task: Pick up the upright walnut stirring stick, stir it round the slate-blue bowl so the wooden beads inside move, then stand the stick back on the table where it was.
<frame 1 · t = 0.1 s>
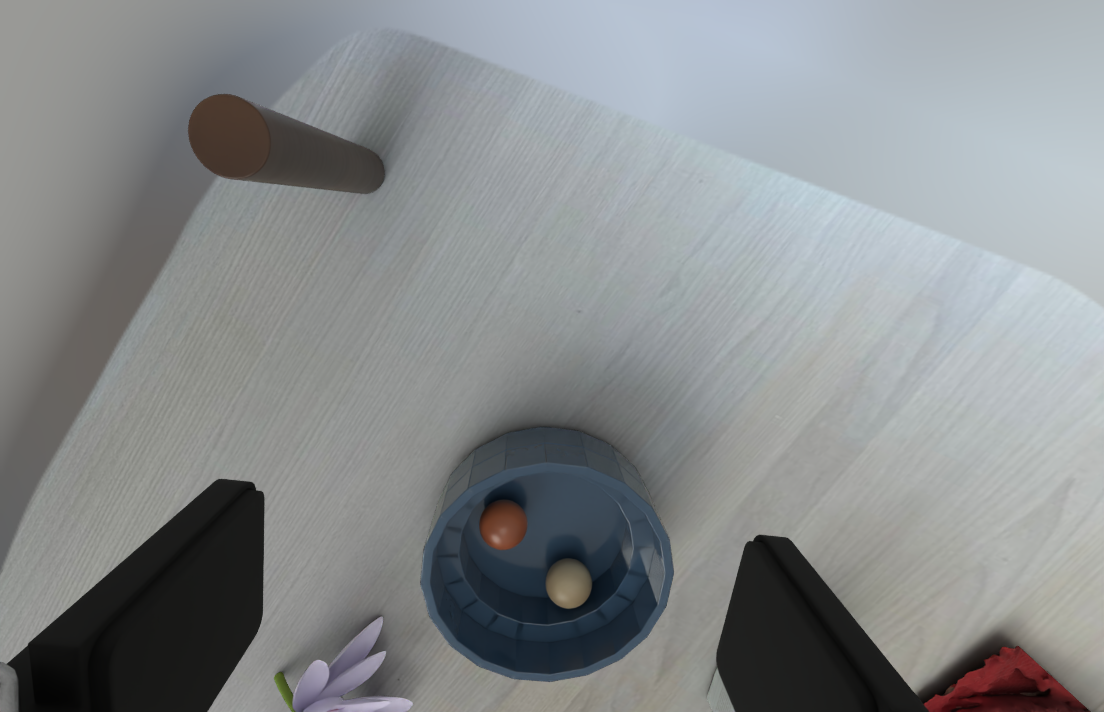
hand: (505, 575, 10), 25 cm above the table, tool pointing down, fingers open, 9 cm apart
bowl: (544, 523, 39), on the table
bead a: (568, 583, 37), point 2 cm above the table, touching bowl
bead b: (503, 524, 36), point 2 cm above the table, touching bowl
water lily: (348, 678, 42), on the table
product box: (750, 668, 43), on the table
stick: (362, 170, 32), on the table
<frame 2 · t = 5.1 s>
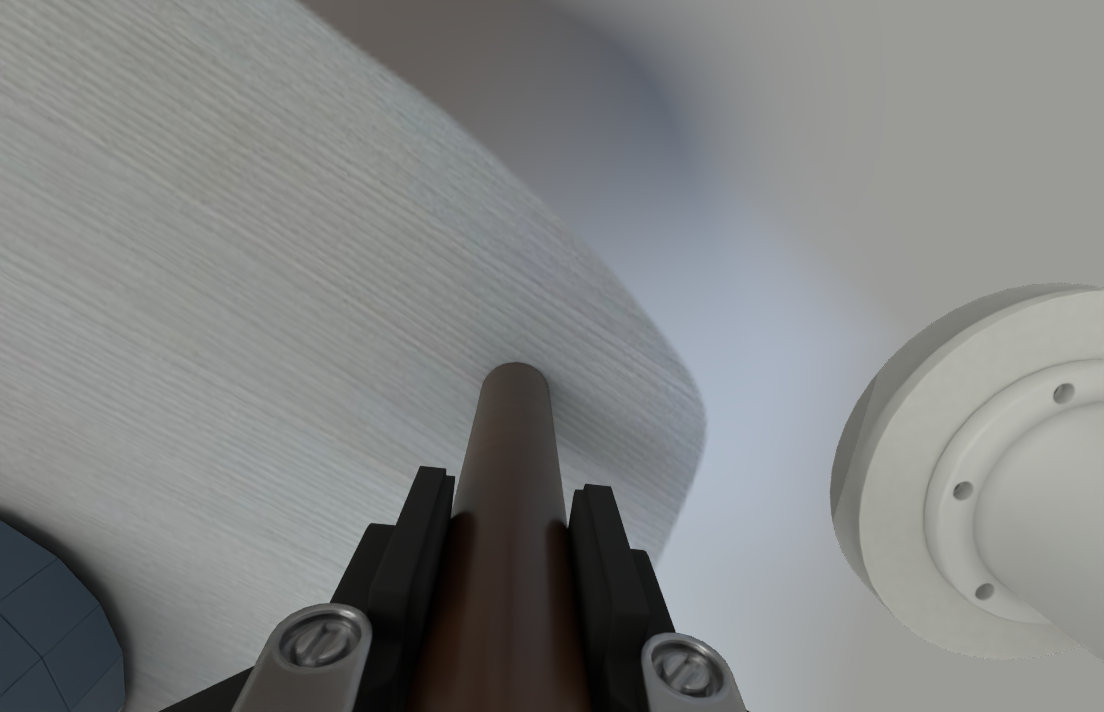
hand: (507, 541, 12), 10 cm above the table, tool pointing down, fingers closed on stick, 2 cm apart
stick: (515, 394, 21), on the table, touching gripper
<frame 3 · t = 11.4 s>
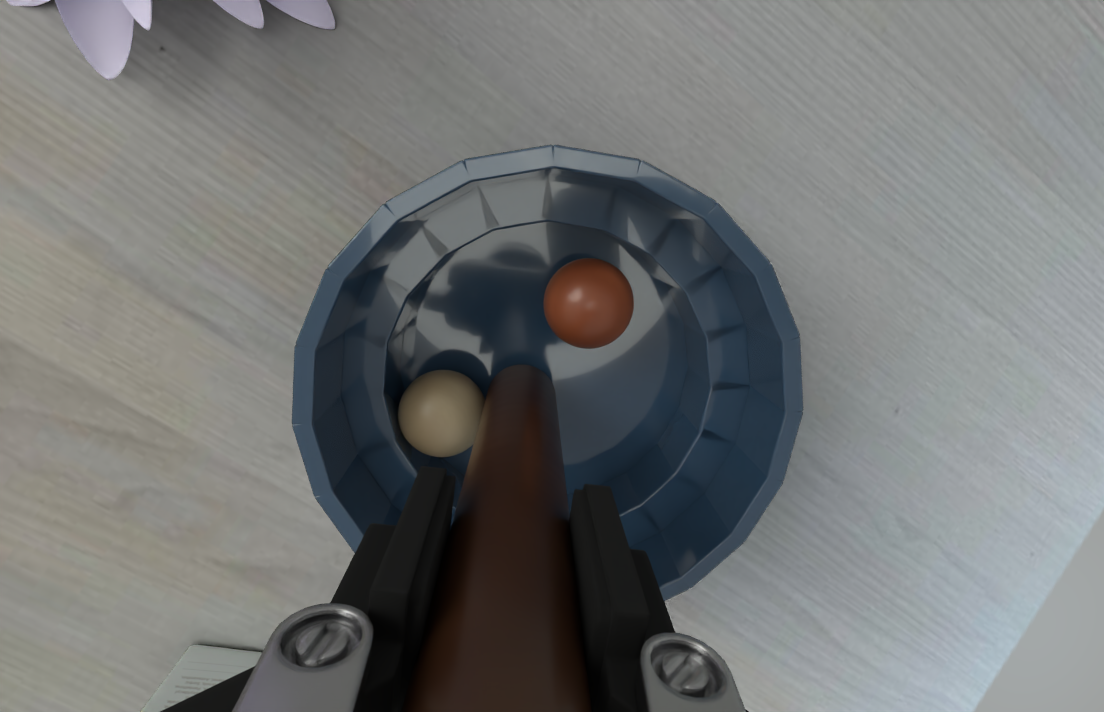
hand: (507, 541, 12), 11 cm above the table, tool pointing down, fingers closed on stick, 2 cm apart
bowl: (545, 364, 22), on the table
bead a: (443, 413, 20), point 2 cm above the table, tilted 16°, touching bowl, stick
bead b: (588, 303, 19), point 2 cm above the table, touching bowl
product box: (257, 697, 26), on the table
stick: (521, 396, 21), point 1 cm above the table, touching bead a, gripper
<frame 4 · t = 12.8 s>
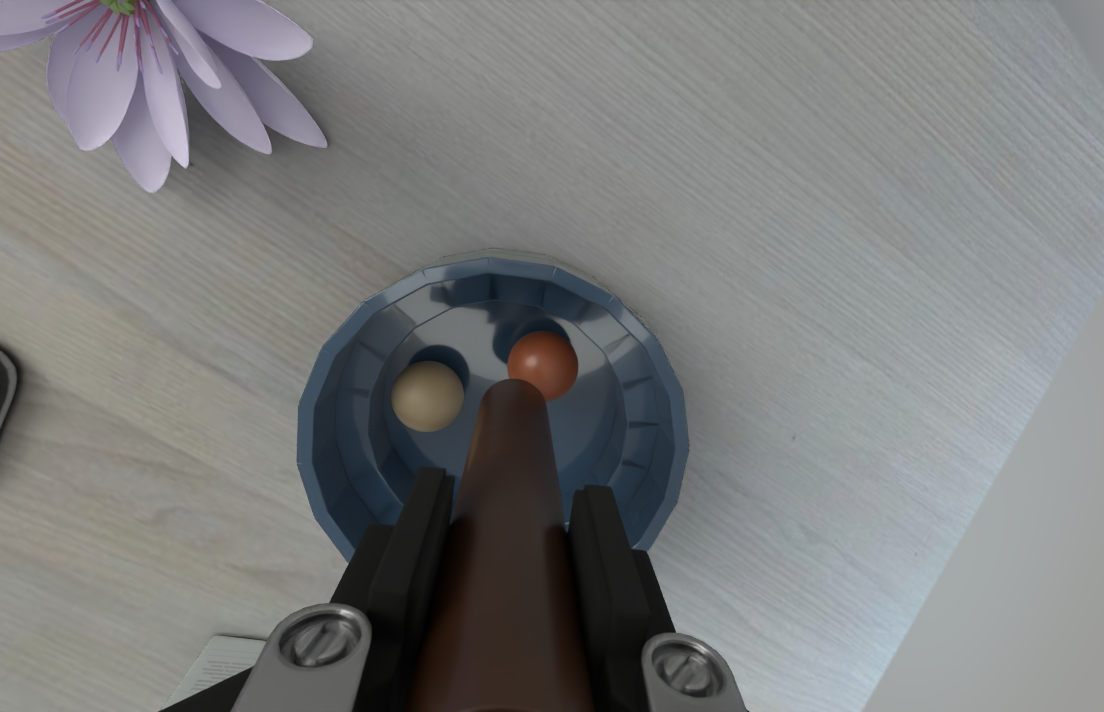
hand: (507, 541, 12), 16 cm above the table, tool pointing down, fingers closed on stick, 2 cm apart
bowl: (501, 403, 27), on the table
bead a: (428, 396, 25), point 2 cm above the table, tilted 60°, touching bowl
bead b: (542, 366, 24), point 2 cm above the table, tilted 47°, touching bowl
water lily: (181, 68, 23), on the table
product box: (268, 679, 31), on the table
stick: (513, 410, 21), point 6 cm above the table, touching gripper
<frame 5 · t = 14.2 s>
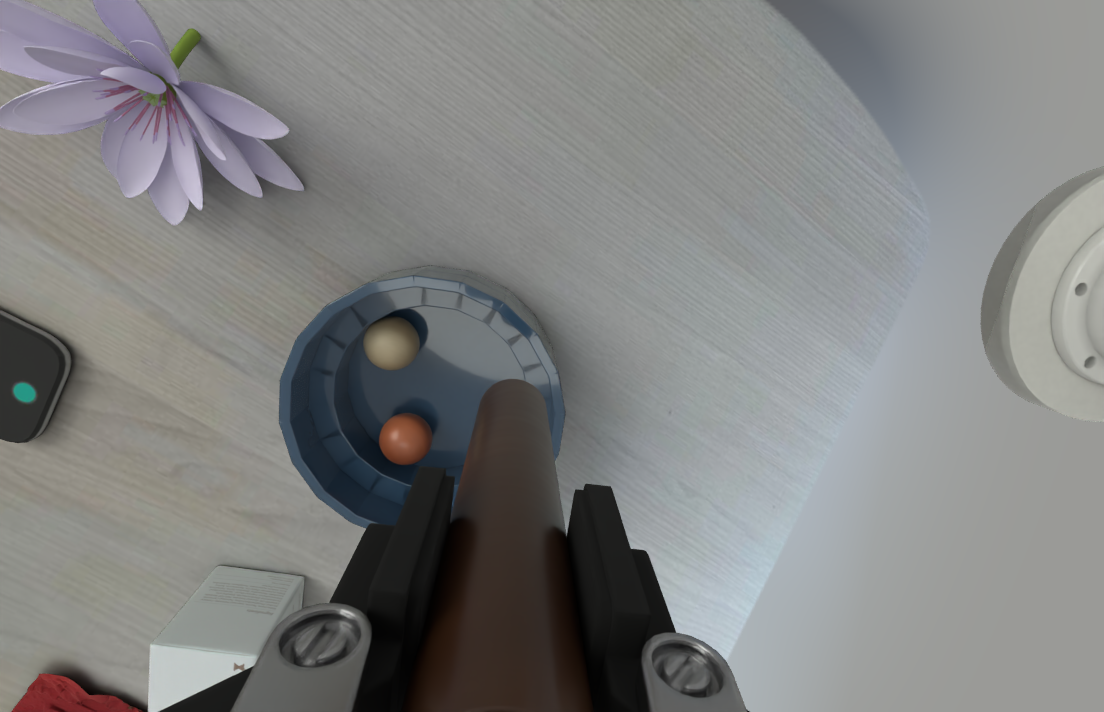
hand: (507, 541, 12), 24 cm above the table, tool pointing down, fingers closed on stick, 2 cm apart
bowl: (439, 384, 35), on the table
bead a: (391, 343, 32), point 2 cm above the table, tilted 138°, touching bowl
bead b: (406, 438, 34), point 2 cm above the table, tilted 170°, touching bowl
water lily: (196, 133, 31), on the table
product box: (260, 602, 39), on the table
stick: (512, 411, 21), point 14 cm above the table, touching gripper
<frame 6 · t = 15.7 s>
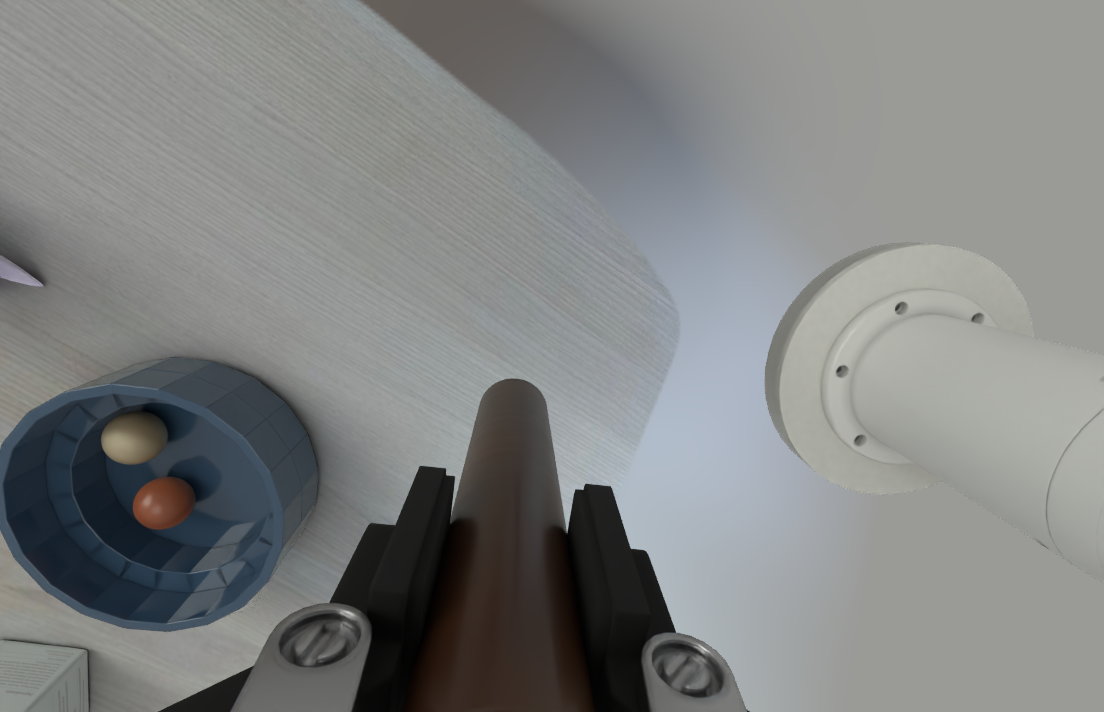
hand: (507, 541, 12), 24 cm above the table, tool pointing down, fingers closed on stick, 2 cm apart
bowl: (202, 466, 36), on the table
bead a: (135, 437, 33), point 2 cm above the table, tilted 131°, touching bowl
bead b: (164, 502, 34), point 2 cm above the table, tilted 131°, touching bowl
product box: (48, 674, 40), on the table
stick: (513, 410, 21), point 14 cm above the table, touching gripper
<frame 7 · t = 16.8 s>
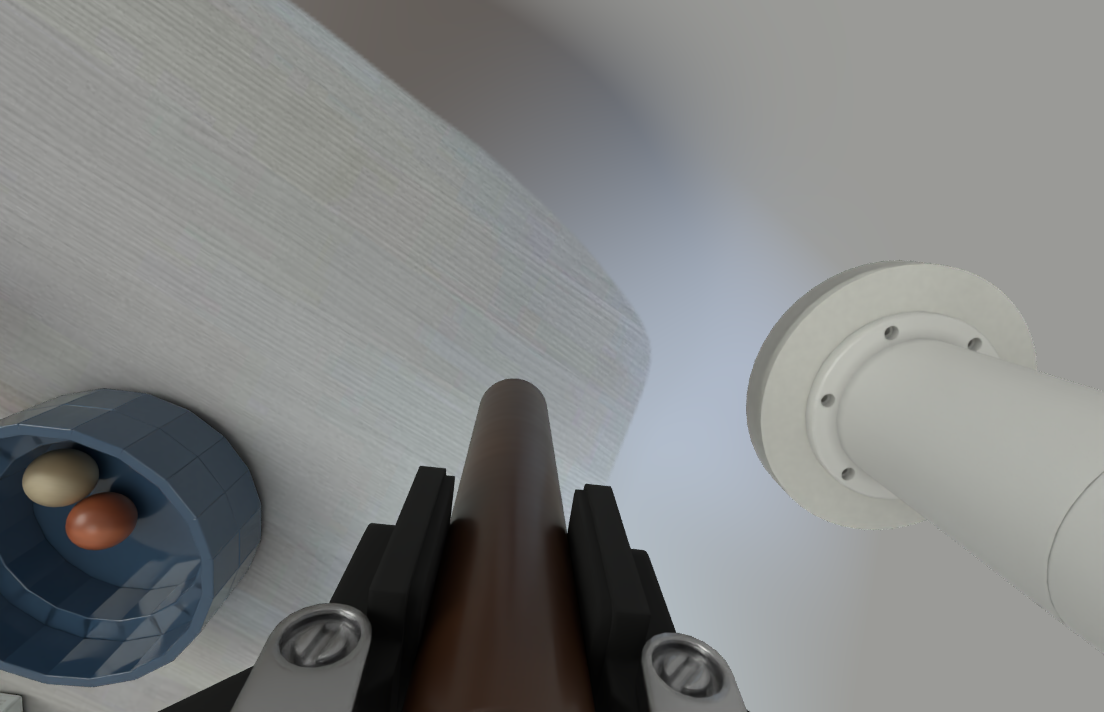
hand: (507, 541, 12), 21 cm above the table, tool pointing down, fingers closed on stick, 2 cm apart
bowl: (138, 503, 33), on the table
bead a: (61, 477, 30), point 2 cm above the table, tilted 127°, touching bowl
bead b: (102, 520, 31), point 2 cm above the table, tilted 70°, touching bowl
stick: (513, 410, 21), point 11 cm above the table, touching gripper
when the fingers open (10 cm above the table, at t = 20.1 s): stick stays where it is, on the table.
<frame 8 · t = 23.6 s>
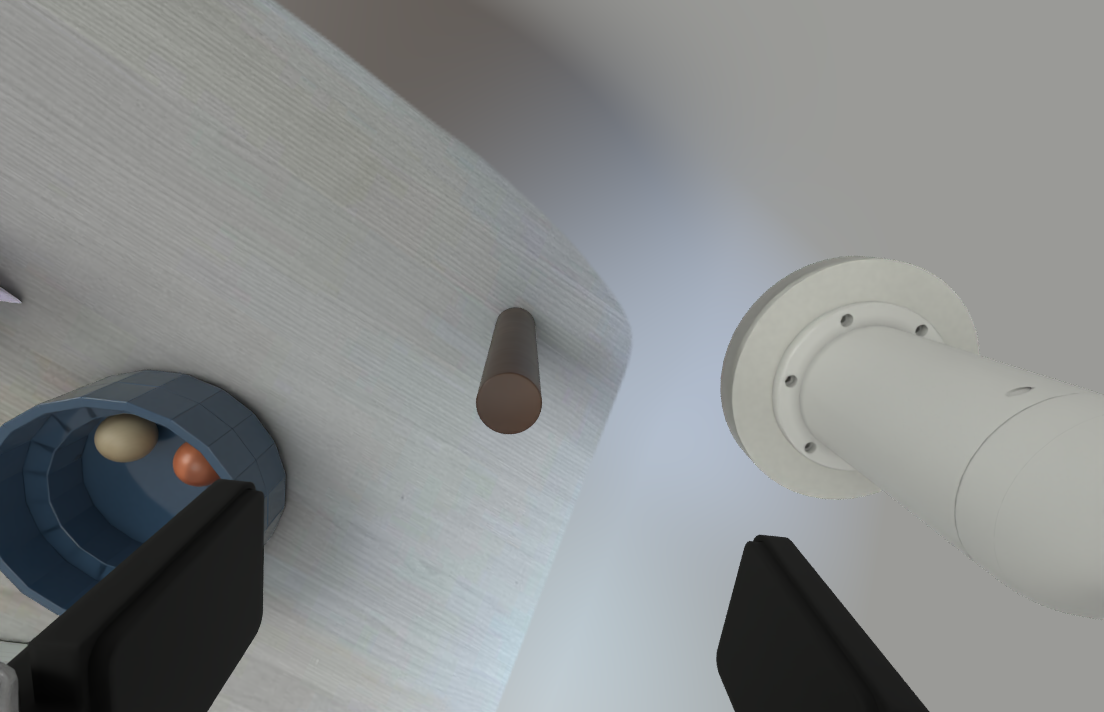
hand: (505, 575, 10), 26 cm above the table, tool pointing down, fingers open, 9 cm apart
bowl: (175, 474, 37), on the table
bead a: (127, 436, 34), point 2 cm above the table, tilted 134°, touching bowl
bead b: (203, 461, 35), point 2 cm above the table, tilted 90°, touching bowl
product box: (31, 672, 41), on the table
stick: (515, 326, 36), on the table
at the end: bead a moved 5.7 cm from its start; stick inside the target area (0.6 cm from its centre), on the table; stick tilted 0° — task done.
